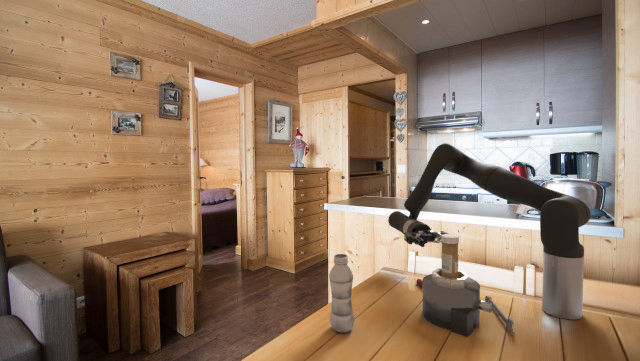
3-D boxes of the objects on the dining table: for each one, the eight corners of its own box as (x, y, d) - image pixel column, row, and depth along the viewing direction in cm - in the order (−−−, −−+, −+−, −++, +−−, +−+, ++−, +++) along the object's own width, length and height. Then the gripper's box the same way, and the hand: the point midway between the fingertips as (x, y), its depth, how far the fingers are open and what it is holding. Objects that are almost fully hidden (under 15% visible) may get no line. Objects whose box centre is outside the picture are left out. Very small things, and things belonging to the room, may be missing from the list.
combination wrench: (484, 292, 99) (510, 323, 80) (489, 292, 99) (516, 323, 80) (484, 304, 100) (510, 338, 80) (489, 304, 99) (516, 338, 80)
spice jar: (461, 284, 89) (462, 236, 88) (447, 286, 88) (447, 237, 87) (451, 278, 93) (452, 233, 92) (437, 280, 92) (437, 234, 91)
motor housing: (436, 300, 101) (436, 261, 101) (499, 319, 89) (499, 275, 88) (412, 317, 91) (412, 274, 90) (479, 342, 78) (480, 292, 77)
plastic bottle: (338, 338, 81) (336, 261, 80) (325, 326, 87) (324, 254, 86) (359, 331, 84) (358, 257, 83) (345, 320, 90) (344, 251, 89)
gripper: (397, 221, 113) (414, 232, 97) (436, 220, 114) (459, 230, 98) (397, 242, 114) (414, 256, 98) (436, 240, 115) (459, 254, 99)
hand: (437, 243), depth 98 cm, fingers open, 8 cm apart
